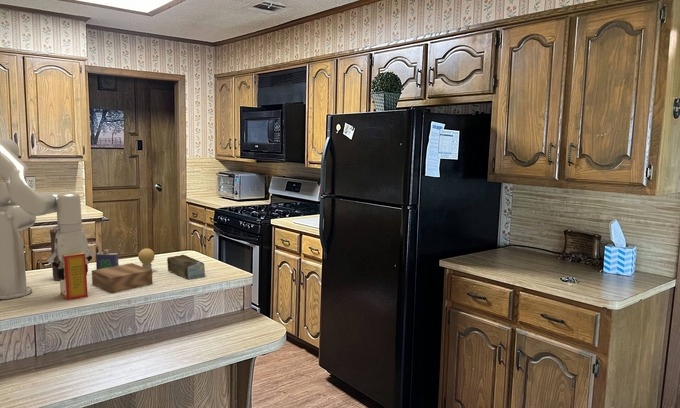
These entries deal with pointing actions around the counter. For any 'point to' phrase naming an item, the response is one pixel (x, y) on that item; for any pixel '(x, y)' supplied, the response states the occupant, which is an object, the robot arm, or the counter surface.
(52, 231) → the candle
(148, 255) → the light bulb
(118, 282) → the walnut riser block
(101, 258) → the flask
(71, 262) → the baking soda box
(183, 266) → the grey rectangular block
